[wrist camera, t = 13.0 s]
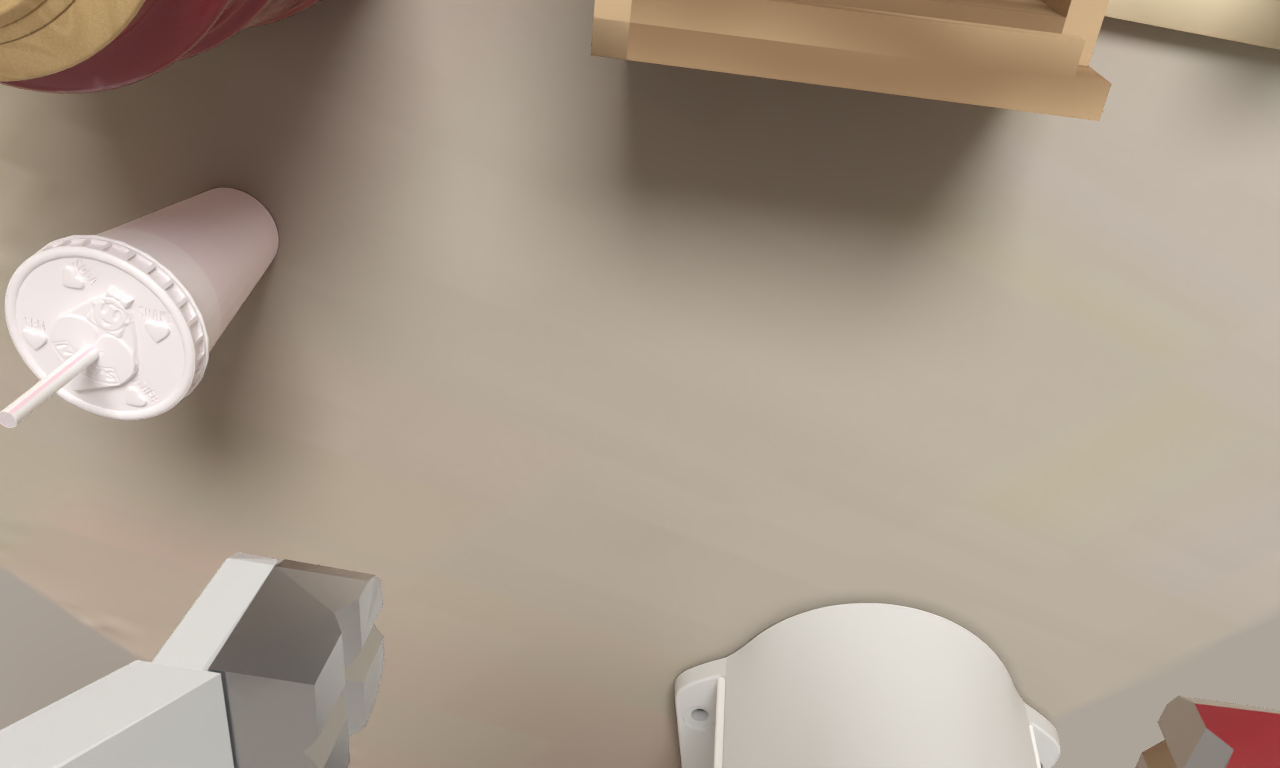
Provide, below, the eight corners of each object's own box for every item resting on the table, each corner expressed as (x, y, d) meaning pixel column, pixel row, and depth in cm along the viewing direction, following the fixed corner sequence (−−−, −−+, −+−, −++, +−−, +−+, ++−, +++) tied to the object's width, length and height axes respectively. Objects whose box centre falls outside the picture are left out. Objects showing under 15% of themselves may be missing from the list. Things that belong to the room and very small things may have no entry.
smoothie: (134, 245, 42) (-123, 421, 30) (192, 120, 39) (-66, 259, 27) (272, 331, 43) (81, 533, 31) (338, 217, 40) (155, 390, 28)
